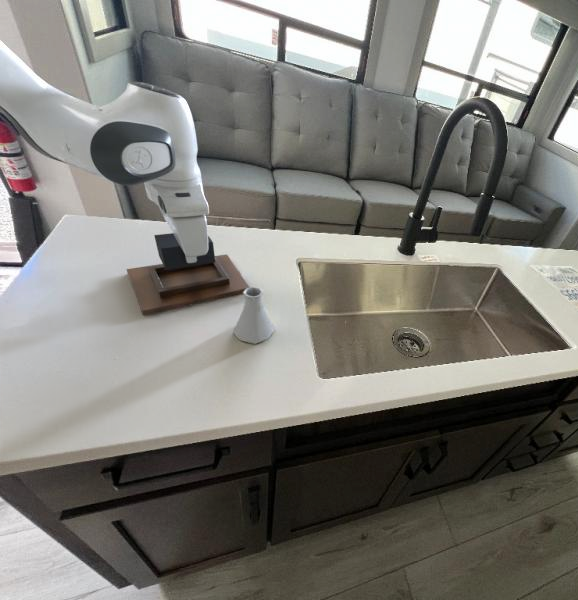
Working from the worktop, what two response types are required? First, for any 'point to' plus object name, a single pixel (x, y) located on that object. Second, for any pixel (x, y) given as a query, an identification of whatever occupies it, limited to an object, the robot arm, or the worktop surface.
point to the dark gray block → (179, 253)
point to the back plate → (185, 284)
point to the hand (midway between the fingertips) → (186, 252)
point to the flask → (253, 318)
